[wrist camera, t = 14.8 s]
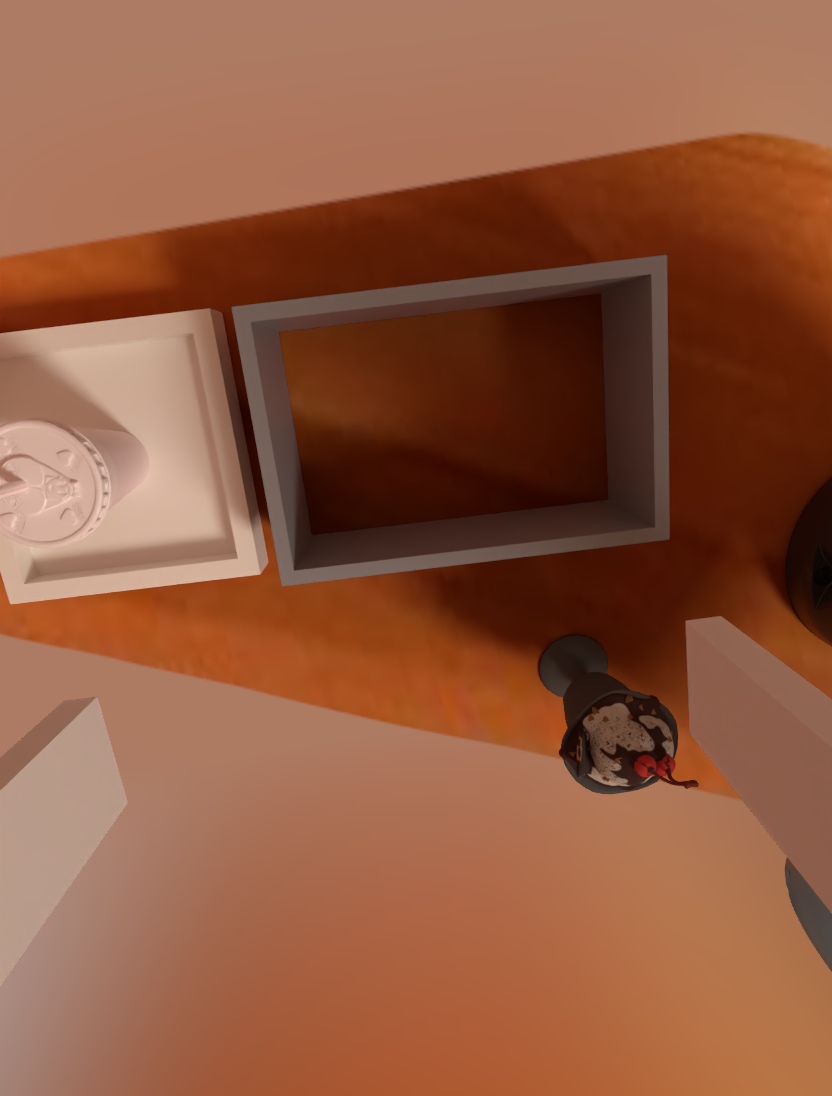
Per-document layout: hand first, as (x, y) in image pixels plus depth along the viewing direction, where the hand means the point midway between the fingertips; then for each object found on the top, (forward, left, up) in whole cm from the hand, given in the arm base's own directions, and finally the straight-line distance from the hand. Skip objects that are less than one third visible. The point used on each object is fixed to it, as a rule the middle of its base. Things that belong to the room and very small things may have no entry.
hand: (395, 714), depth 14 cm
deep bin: (0, -6, -29) cm, 30 cm away
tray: (+15, +9, -29) cm, 34 cm away
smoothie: (+15, +9, -28) cm, 33 cm away
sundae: (-18, +2, -29) cm, 34 cm away
